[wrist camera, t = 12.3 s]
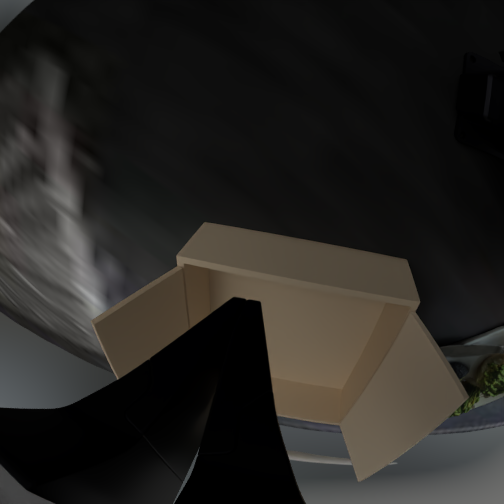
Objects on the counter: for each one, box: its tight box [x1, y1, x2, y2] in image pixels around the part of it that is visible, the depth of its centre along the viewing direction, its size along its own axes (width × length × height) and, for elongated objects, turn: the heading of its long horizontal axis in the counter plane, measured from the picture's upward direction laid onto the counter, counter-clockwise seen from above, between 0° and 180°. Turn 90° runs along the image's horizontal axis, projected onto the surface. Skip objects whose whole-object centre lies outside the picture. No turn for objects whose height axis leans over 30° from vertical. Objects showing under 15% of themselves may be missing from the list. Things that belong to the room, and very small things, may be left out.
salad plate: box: [439, 325, 504, 418], centre depth 22 cm, size 19×18×5 cm
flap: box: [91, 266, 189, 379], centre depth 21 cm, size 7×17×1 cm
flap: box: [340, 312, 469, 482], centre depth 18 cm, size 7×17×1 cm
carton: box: [177, 222, 420, 425], centre depth 24 cm, size 16×18×5 cm
